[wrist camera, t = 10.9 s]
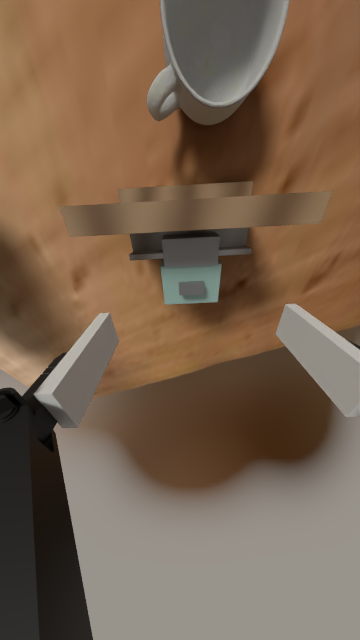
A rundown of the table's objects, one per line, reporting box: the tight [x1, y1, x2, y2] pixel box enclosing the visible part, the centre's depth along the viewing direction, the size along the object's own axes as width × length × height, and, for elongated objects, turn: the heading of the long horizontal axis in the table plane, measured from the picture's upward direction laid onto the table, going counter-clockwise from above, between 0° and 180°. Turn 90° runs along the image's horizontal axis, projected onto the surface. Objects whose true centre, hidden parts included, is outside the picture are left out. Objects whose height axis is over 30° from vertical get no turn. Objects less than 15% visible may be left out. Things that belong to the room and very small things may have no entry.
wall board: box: [59, 181, 332, 260], centre depth 20 cm, size 20×8×18 cm, turn 93°
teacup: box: [147, 0, 289, 125], centre depth 17 cm, size 14×11×8 cm
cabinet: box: [161, 232, 222, 304], centre depth 22 cm, size 7×9×10 cm
